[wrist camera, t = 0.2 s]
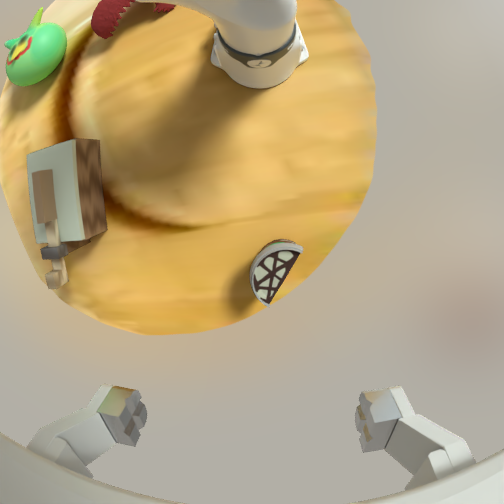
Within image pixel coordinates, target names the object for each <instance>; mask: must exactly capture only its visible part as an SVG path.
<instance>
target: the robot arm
mask: <svg viewBox="0 0 504 504" xmlns="http://www.w3.org/2000/svg"><path fill="white" fill-rule="evenodd" d="M135 1H138V2H156V3H168V4H174V5H179V6H183V7H186V8H189V9H192V10H195V11H197V12H199V13H202V14H204V15H206V16H208V17H209V18H211V19H212V20H213V21H214V25H215V28H217V31H216V33H215V34H214V45H213V49H212V54H211V63H212V64H213V65H215V66H217V67H219V68H221V69H223V70H224V71H225V72H226V73H227V74H228V75H229V76H230V77H231V78H232V79H233V80H234V81H236V82H237V83H239V84H241V85H244V86H246V87H250V88H269V87H273V86H276V85H278V84H280V83H282V82H283V81H285V80H286V79H287V78H288V77H289V76H290V75H291V74H292V73H293V71H294V70H295V68H296V67H297V66H298V65H300V64H302V63H303V62H305V61H306V60H307V59H308V56H309V54H308V51H307V48H306V45H305V43H304V40H303V37H302V34H301V32H300V29H299V26H298V24H297V21H296V19H295V17H296V11H297V2H296V0H135ZM302 50H303V51H302ZM301 51H302V52H301ZM216 55H217V56H216ZM140 399H141V395H140V393H139V391H138V390H134V389H128V388H124V387H119V386H113V385H108V384H103V385H101V387H100V388H99V390H98V391H97V393H96V394H95V396H94V397H93V398H92V400H91V401H90V403H89V404H88V406H87V407H86V409H80V410H78V411H76V412H74V413H72V414H70V415H68V416H66V417H63V418H61V419H59V420H57V421H55V422H53V423H51V424H49V425H46V426H44V427H42V428H40V429H39V430H38V432H37V433H36V435H35V436H34V437H33V439H32V440H31V442H30V443H29V444H28V446H27V447H26V448H25V447H24V446H22V445H20V444H18V443H17V442H15V441H13V440H12V439H10V438H9V437H7V436H5V435H4V434H2V433H1V432H0V504H185V503H179V502H174V501H169V500H164V499H159V498H155V497H150V496H146V495H142V494H138V493H134V492H131V491H128V490H124V489H121V488H118V487H115V486H111V485H108V484H105V483H102V482H100V481H97V480H94V479H92V478H93V475H92V473H91V472H90V471H89V470H88V469H87V468H86V466H87V465H88V464H89V463H91V462H92V461H94V460H95V459H96V458H98V457H99V456H100V455H102V454H103V453H104V452H106V451H107V450H109V449H110V448H111V447H112V446H114V445H115V444H116V443H120V444H125V445H130V446H134V447H135V446H136V443H137V441H138V439H139V437H140V432H139V429H141V428H142V427H144V425H145V423H146V419H147V410H146V407H145V405H144V404H143V403H142V402H141V401H140ZM359 401H360V405H359V406H358V407H357V409H356V413H355V423H356V428H357V431H359V432H360V433H361V436H360V443H361V447H362V451H363V453H364V452H370V451H376V450H382V449H385V451H386V452H387V453H388V454H390V455H391V456H392V457H393V458H394V459H395V460H397V461H398V462H399V463H400V464H401V465H402V466H403V467H405V468H406V469H407V470H408V471H409V472H410V473H412V474H413V475H414V476H413V478H412V479H411V481H410V482H409V483H408V484H407V486H406V487H405V491H403V492H399V493H395V494H391V495H387V496H383V497H379V498H375V499H370V500H366V501H360V502H355V503H349V504H504V449H502V450H500V451H499V452H497V453H495V454H493V455H491V456H489V457H488V458H486V459H484V460H482V461H480V462H478V463H476V461H475V459H474V457H473V455H472V453H471V452H470V450H469V448H468V446H467V444H466V442H465V440H464V439H462V438H461V437H458V436H457V435H455V434H453V433H451V432H450V431H448V430H446V429H444V428H442V427H441V426H439V425H437V424H435V423H434V422H432V421H430V420H429V419H427V418H425V417H423V416H422V415H420V414H417V415H416V414H415V413H414V411H413V408H412V406H411V405H410V402H409V400H408V398H407V397H406V395H405V392H404V390H403V388H402V387H401V386H394V387H389V388H383V389H378V390H371V391H365V392H362V393H361V394H360V397H359Z"/></svg>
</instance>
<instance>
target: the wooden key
mask: <svg viewBox="0 0 504 504" xmlns="http://www.w3.org/2000/svg"><path fill="white" fill-rule="evenodd" d="M45 229H46V235H47V241H48V246H49V247H57V246H59V245H61V241H60V236H59V230H58V224H57V219H55V220H52V221H49V222H47V223H45ZM51 261H52V265H53V269H54V270H52V271H50V272H49V273H47V274H45V277H46V281H47V285H48V288H49V289H58V288H59V287H61V286H62V285H64V284H65V283H67V282H68V281H69V279H68V275H67V271H66V266H65V262H64V257H62V258H60V259H51Z"/></svg>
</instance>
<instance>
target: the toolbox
mask: <svg viewBox="0 0 504 504" xmlns="http://www.w3.org/2000/svg"><path fill="white" fill-rule="evenodd" d="M72 140H76V163H77V177H78V188H79V198H80V207H81V214H82V222H83V228H84V235H85V239H83V240H78V241H64V242H61V245H59V246H57V247H49V246H46V247H44V248H42V249H41V254H42V259H60V258H62V257H64V256H66V255H68V253H70V252H72V251H74V250H76V249H78V248H79V247H81V246H83V245H85V244H87V243H89V242H90V238H91V237H93V236H95V235H97V234H100V233H102V232H104V231H106V230H108V229H107V222H106V215H105V207H104V198H103V188H102V176H101V162H100V141H99V140H91V139H78V138H75V139H72ZM68 141H69V140H68ZM65 142H66V141H65ZM62 143H63V142H62ZM41 150H42V149H41ZM38 151H39V150H38ZM30 154H31V153H30Z"/></svg>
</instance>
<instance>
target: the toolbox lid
mask: <svg viewBox="0 0 504 504" xmlns="http://www.w3.org/2000/svg"><path fill="white" fill-rule="evenodd" d="M27 171H28V184H29V195H30V204H31V212H32V219H33V225H34V231H35V237H36V242H37V244H38V243H48V241H47V235H46V229H45V223H47V222H49V221H52V220H55V219H57V224H58V230H59V236H60V241H61V242H64V241H78V240H83V239H85V235H84V228H83V222H82V214H81V207H80V198H79V188H78V177H77V163H76V140H69V141H66V142H63V143H59V144H56V145H53V146H50V147H47V148H44V149H42V150H39V151H36V152H33V153H31V154H28V155H27Z"/></svg>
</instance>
